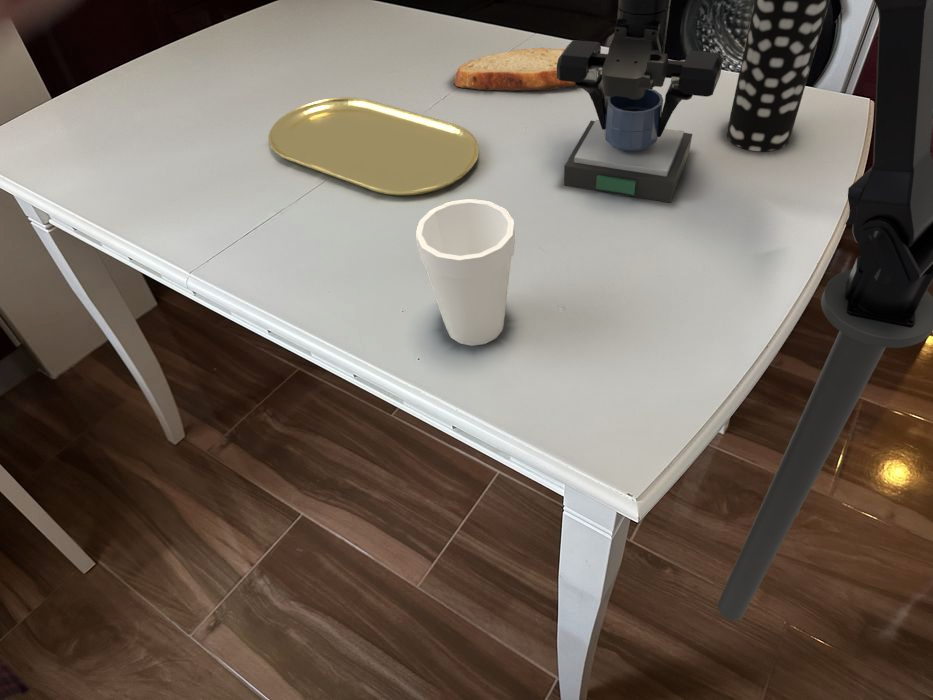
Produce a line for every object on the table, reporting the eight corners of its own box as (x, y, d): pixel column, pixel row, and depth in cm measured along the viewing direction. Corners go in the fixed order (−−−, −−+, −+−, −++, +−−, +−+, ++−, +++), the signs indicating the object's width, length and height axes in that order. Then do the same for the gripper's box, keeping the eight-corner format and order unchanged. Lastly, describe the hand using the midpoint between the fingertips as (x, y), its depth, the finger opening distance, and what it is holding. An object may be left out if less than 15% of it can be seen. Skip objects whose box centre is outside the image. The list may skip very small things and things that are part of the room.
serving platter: (329, 96, 114) (326, 87, 113) (505, 147, 99) (504, 137, 97) (245, 150, 104) (242, 141, 103) (426, 216, 89) (425, 206, 88)
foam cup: (489, 368, 70) (480, 271, 60) (415, 338, 74) (396, 242, 64) (533, 310, 75) (531, 213, 66) (462, 285, 79) (451, 190, 69)
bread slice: (445, 81, 114) (443, 59, 112) (527, 46, 121) (527, 24, 118) (514, 118, 104) (513, 95, 101) (599, 78, 110) (601, 55, 108)
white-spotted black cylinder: (722, 147, 94) (754, -8, 79) (730, 117, 99) (762, -33, 84) (787, 155, 91) (833, -3, 77) (792, 124, 96) (836, -30, 82)
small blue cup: (663, 129, 90) (668, 89, 86) (650, 156, 86) (656, 115, 82) (612, 123, 92) (615, 83, 88) (598, 149, 88) (600, 109, 84)
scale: (689, 153, 94) (693, 128, 91) (669, 205, 86) (673, 179, 83) (589, 139, 98) (591, 115, 95) (562, 187, 91) (563, 162, 88)
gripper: (541, 27, 75) (542, 154, 86) (716, 42, 69) (693, 176, 80) (572, -11, 82) (569, 111, 93) (734, 0, 76) (710, 129, 87)
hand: (631, 131), depth 88 cm, fingers closed on small blue cup, 7 cm apart
